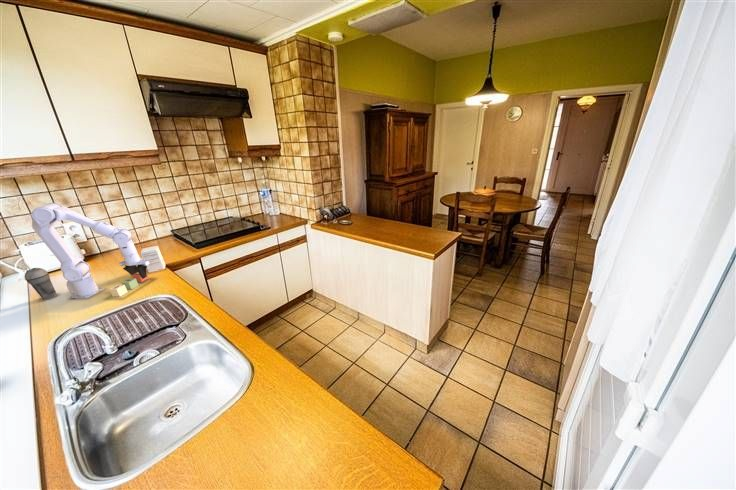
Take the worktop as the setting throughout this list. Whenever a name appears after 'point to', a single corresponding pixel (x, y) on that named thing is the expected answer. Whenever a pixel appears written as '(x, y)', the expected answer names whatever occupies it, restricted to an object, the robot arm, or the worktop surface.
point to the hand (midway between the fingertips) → (140, 277)
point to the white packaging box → (153, 258)
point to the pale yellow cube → (118, 290)
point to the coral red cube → (139, 277)
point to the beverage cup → (40, 282)
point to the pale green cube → (130, 283)
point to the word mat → (137, 286)
